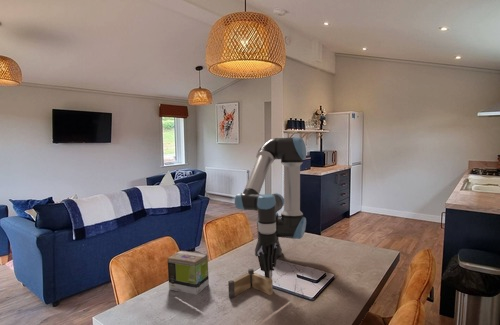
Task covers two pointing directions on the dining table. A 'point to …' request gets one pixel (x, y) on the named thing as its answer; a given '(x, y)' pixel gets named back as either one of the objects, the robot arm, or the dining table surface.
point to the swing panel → (260, 282)
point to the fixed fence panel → (239, 285)
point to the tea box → (188, 272)
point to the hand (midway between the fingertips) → (268, 284)
